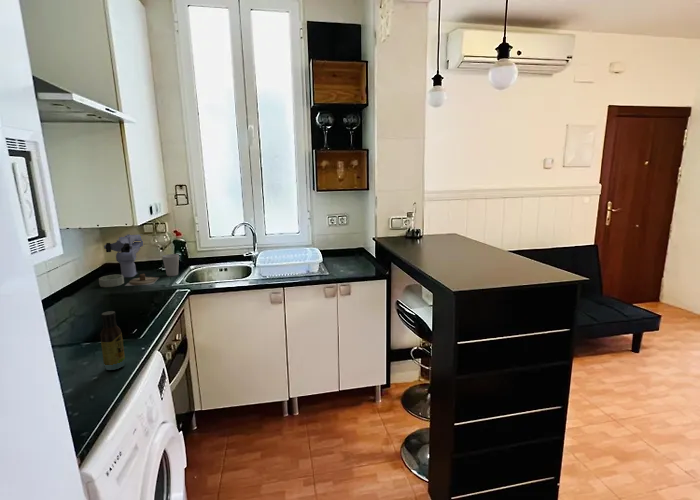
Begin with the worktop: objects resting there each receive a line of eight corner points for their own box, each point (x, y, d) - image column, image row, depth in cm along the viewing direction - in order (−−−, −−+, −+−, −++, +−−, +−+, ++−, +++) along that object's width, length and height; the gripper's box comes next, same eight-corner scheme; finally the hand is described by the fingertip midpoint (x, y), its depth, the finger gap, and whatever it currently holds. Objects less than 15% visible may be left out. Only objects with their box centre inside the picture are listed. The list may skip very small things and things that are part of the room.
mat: (133, 279, 236) (133, 278, 236) (159, 277, 239) (159, 277, 239) (124, 286, 222) (124, 285, 222) (152, 285, 225) (152, 284, 225)
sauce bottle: (124, 370, 130) (116, 315, 126) (103, 373, 128) (94, 317, 124) (127, 361, 136) (120, 308, 132) (107, 364, 134) (99, 311, 130)
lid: (133, 278, 236) (133, 272, 235) (158, 277, 238) (157, 270, 238) (125, 285, 222) (125, 278, 221) (152, 284, 225) (151, 276, 224)
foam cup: (174, 277, 239) (172, 257, 237) (161, 277, 241) (159, 256, 238) (183, 273, 248) (181, 254, 246) (170, 273, 250) (169, 253, 247)
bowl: (105, 282, 230) (104, 275, 229) (127, 281, 232) (126, 274, 231) (96, 288, 218) (95, 280, 217) (119, 287, 221) (118, 279, 220)
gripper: (107, 238, 230) (99, 243, 217) (134, 238, 234) (128, 244, 221) (108, 249, 231) (100, 255, 219) (134, 250, 235) (128, 256, 223)
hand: (114, 250), depth 220 cm, fingers open, 7 cm apart
